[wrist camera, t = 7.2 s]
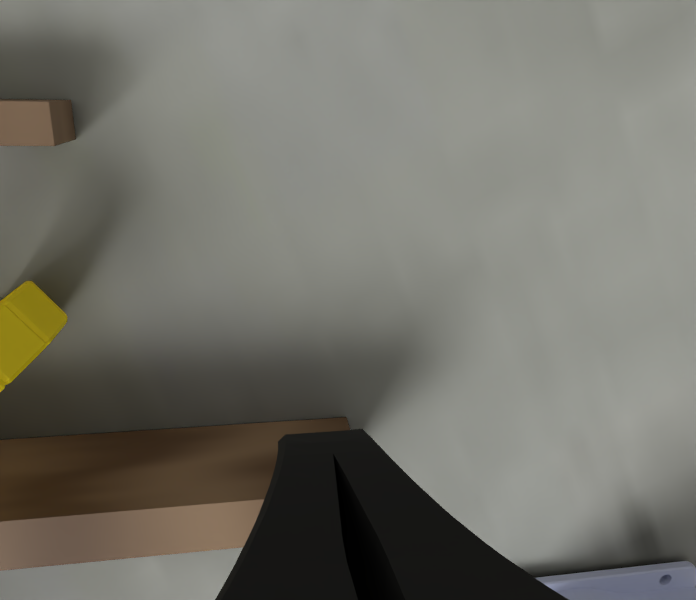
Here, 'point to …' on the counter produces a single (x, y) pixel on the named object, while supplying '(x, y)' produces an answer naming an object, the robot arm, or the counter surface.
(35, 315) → the watch
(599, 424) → the counter surface
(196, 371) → the counter surface
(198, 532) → the wooden u-shaped block
